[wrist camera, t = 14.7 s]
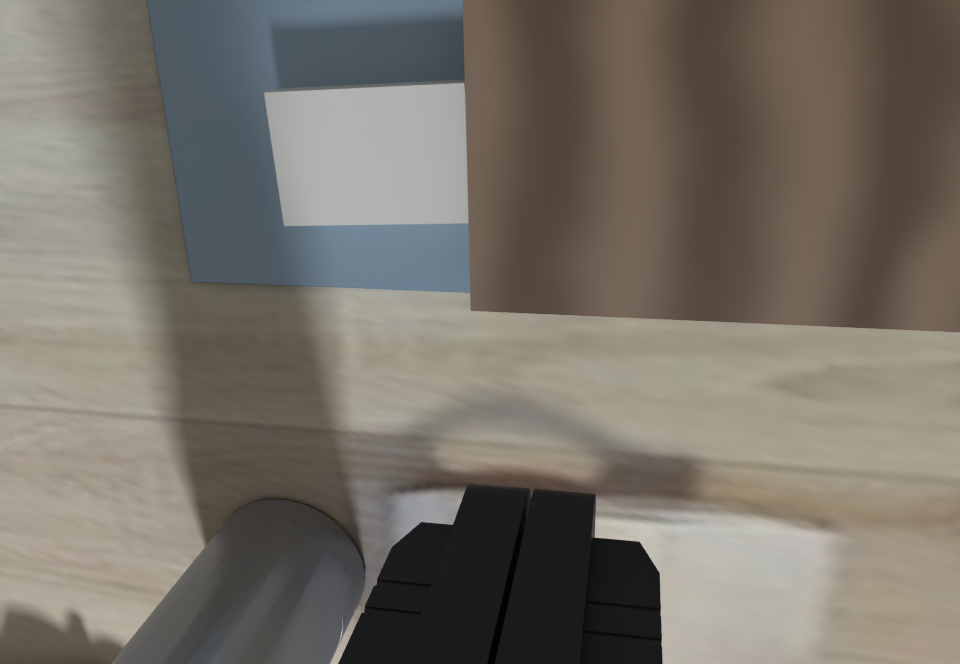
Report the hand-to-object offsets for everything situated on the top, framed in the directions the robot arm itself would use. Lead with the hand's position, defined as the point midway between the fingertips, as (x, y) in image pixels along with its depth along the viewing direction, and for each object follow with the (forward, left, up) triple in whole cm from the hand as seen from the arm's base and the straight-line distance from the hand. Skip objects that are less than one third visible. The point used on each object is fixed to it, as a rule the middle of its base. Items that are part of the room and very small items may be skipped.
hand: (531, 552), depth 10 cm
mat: (-9, +10, -29) cm, 32 cm away
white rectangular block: (-7, +8, -29) cm, 31 cm away
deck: (+3, -3, -29) cm, 29 cm away
